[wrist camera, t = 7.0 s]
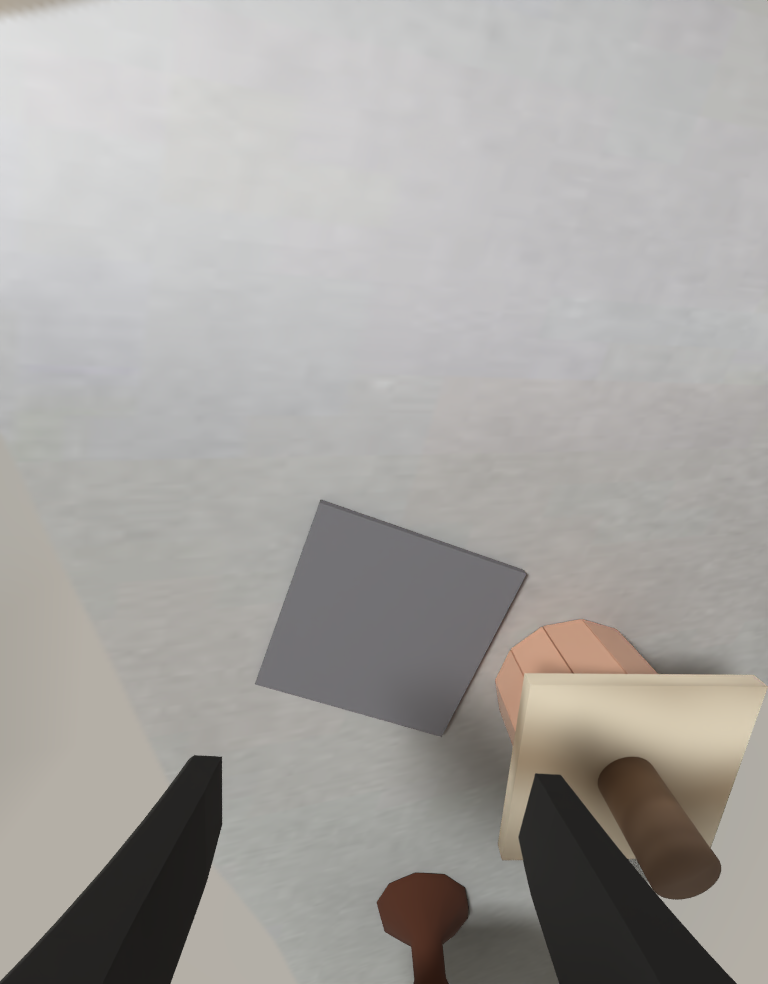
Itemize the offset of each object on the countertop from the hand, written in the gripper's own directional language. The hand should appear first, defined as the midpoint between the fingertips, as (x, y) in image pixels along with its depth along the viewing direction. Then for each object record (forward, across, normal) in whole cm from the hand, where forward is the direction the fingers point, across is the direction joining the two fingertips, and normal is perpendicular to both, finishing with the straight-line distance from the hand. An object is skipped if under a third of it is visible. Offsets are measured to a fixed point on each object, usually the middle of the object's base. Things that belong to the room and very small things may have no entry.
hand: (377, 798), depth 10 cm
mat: (+10, -1, +2) cm, 10 cm away
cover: (+5, -10, +5) cm, 12 cm away
